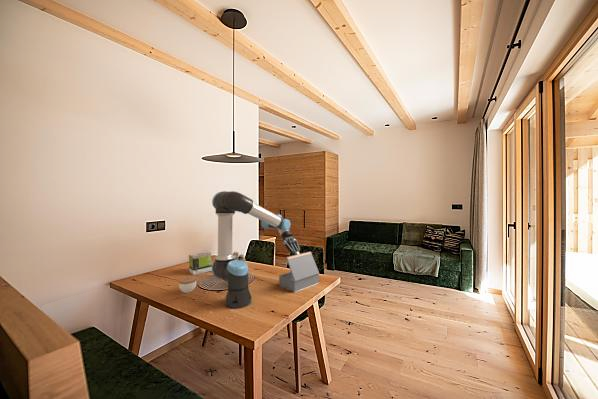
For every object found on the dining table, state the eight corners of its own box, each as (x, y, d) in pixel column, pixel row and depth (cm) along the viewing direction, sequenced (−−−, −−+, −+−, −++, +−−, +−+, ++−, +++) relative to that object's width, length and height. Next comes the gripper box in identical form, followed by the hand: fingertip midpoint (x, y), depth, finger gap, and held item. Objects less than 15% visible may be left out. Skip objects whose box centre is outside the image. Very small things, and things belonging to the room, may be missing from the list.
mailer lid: (294, 281, 159) (295, 281, 159) (286, 257, 165) (286, 257, 164) (318, 273, 174) (319, 273, 173) (310, 251, 180) (310, 251, 179)
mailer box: (294, 292, 160) (294, 281, 159) (279, 285, 172) (279, 275, 171) (318, 283, 174) (318, 273, 174) (303, 277, 186) (302, 268, 186)
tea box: (207, 268, 212) (207, 250, 212) (212, 271, 204) (211, 253, 204) (189, 272, 203) (188, 254, 202) (193, 275, 195) (192, 256, 194)
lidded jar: (200, 290, 166) (199, 276, 165) (185, 295, 157) (184, 281, 156) (190, 286, 172) (190, 273, 171) (175, 292, 163) (175, 277, 162)
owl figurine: (235, 277, 188) (234, 255, 188) (223, 275, 194) (222, 253, 193) (250, 270, 204) (250, 249, 203) (239, 268, 210) (239, 248, 209)
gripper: (289, 234, 191) (305, 261, 179) (276, 237, 182) (291, 265, 170) (294, 228, 186) (310, 255, 175) (280, 231, 177) (296, 259, 166)
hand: (300, 260), depth 173 cm, fingers closed
